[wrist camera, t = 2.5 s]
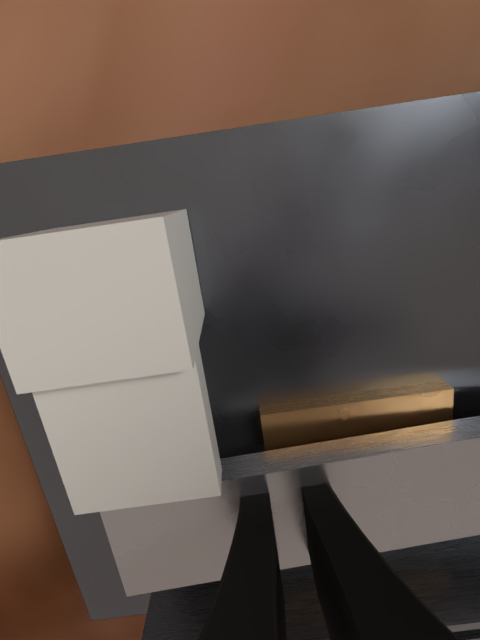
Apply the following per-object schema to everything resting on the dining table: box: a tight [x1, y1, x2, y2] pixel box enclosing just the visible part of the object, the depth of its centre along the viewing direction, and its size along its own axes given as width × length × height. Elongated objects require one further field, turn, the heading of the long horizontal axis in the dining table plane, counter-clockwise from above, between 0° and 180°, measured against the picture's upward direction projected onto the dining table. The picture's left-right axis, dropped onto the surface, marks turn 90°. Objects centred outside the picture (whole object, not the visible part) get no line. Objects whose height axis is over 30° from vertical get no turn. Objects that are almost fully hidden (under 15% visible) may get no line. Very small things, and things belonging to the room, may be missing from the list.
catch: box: [0, 209, 222, 515], centre depth 8 cm, size 3×6×3 cm, turn 8°
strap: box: [100, 416, 480, 597], centre depth 10 cm, size 14×3×1 cm, turn 98°
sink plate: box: [0, 91, 480, 640], centre depth 10 cm, size 17×14×4 cm
